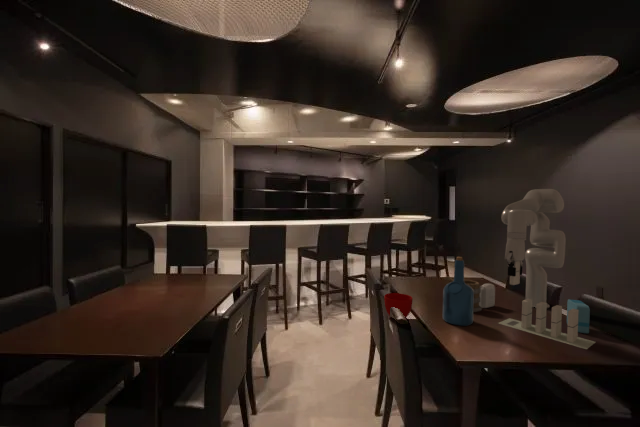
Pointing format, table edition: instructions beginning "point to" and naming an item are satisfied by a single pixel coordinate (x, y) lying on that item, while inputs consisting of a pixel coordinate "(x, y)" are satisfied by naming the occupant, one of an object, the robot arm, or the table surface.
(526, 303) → the domino
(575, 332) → the domino
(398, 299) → the ceramic cup
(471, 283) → the tankard
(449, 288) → the wine bottle
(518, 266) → the domino
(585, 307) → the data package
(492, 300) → the photo printer
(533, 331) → the domino mat
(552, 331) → the domino
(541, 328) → the domino
